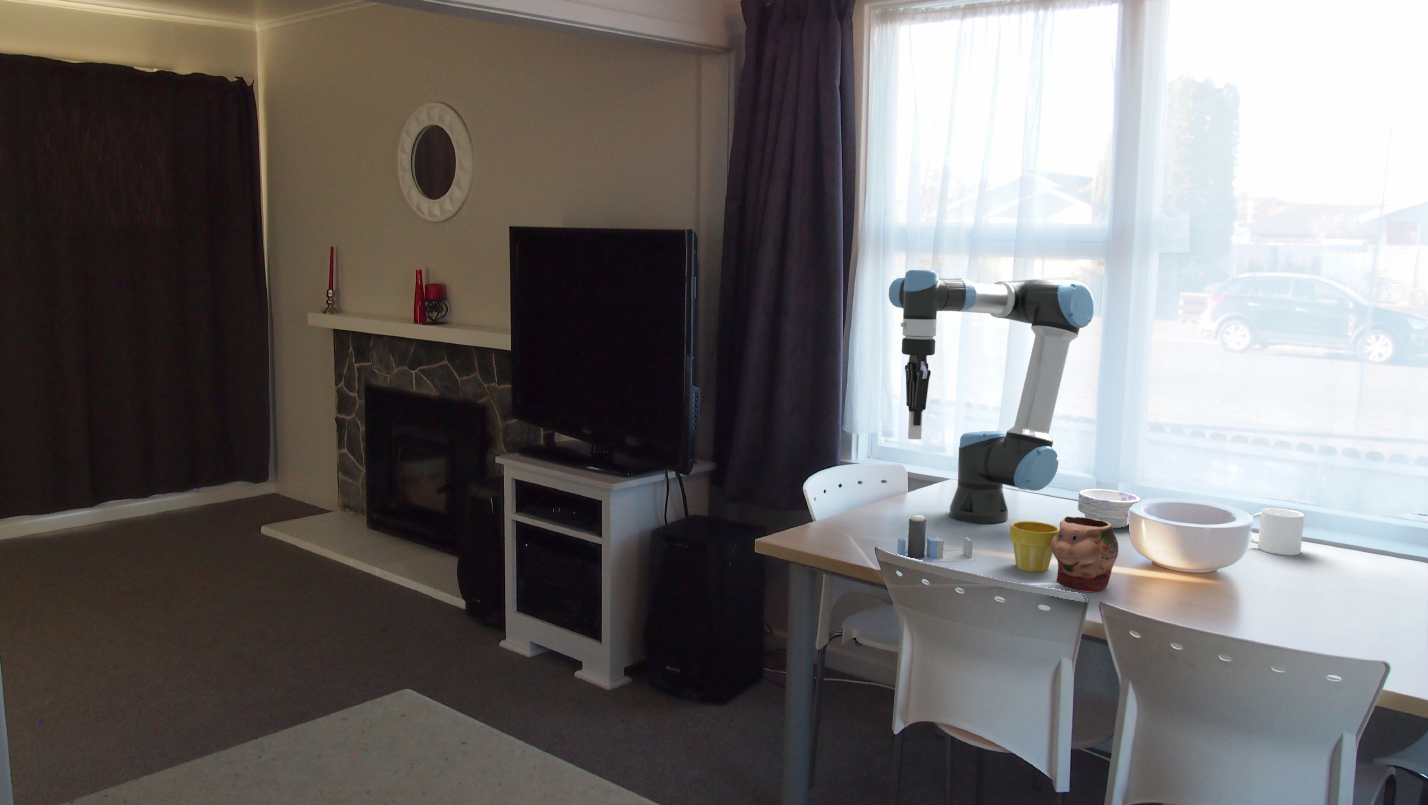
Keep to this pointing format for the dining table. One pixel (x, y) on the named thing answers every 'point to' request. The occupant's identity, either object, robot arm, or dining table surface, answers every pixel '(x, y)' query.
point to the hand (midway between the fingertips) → (914, 438)
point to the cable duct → (940, 550)
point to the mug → (1280, 531)
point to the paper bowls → (1106, 505)
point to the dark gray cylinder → (916, 537)
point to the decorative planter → (1084, 553)
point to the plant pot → (1032, 544)
